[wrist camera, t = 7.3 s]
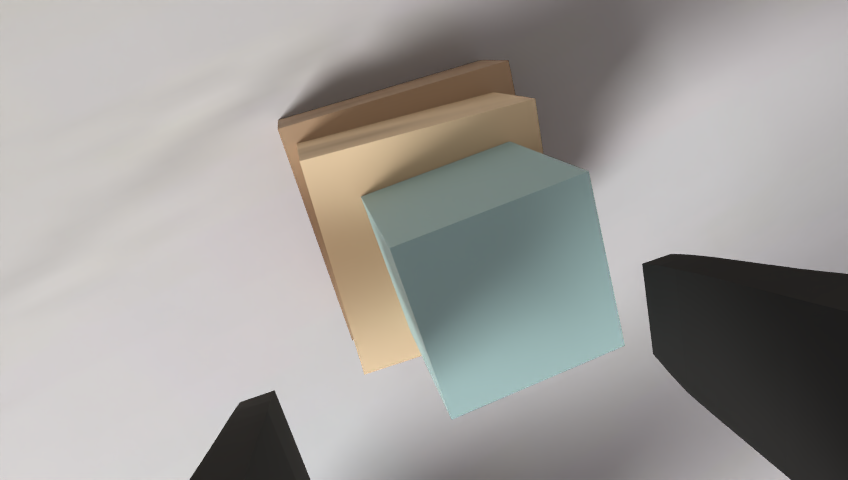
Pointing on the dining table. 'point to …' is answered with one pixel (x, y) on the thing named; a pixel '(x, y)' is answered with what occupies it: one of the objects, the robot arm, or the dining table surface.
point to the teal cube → (498, 271)
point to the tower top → (384, 166)
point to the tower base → (387, 117)
